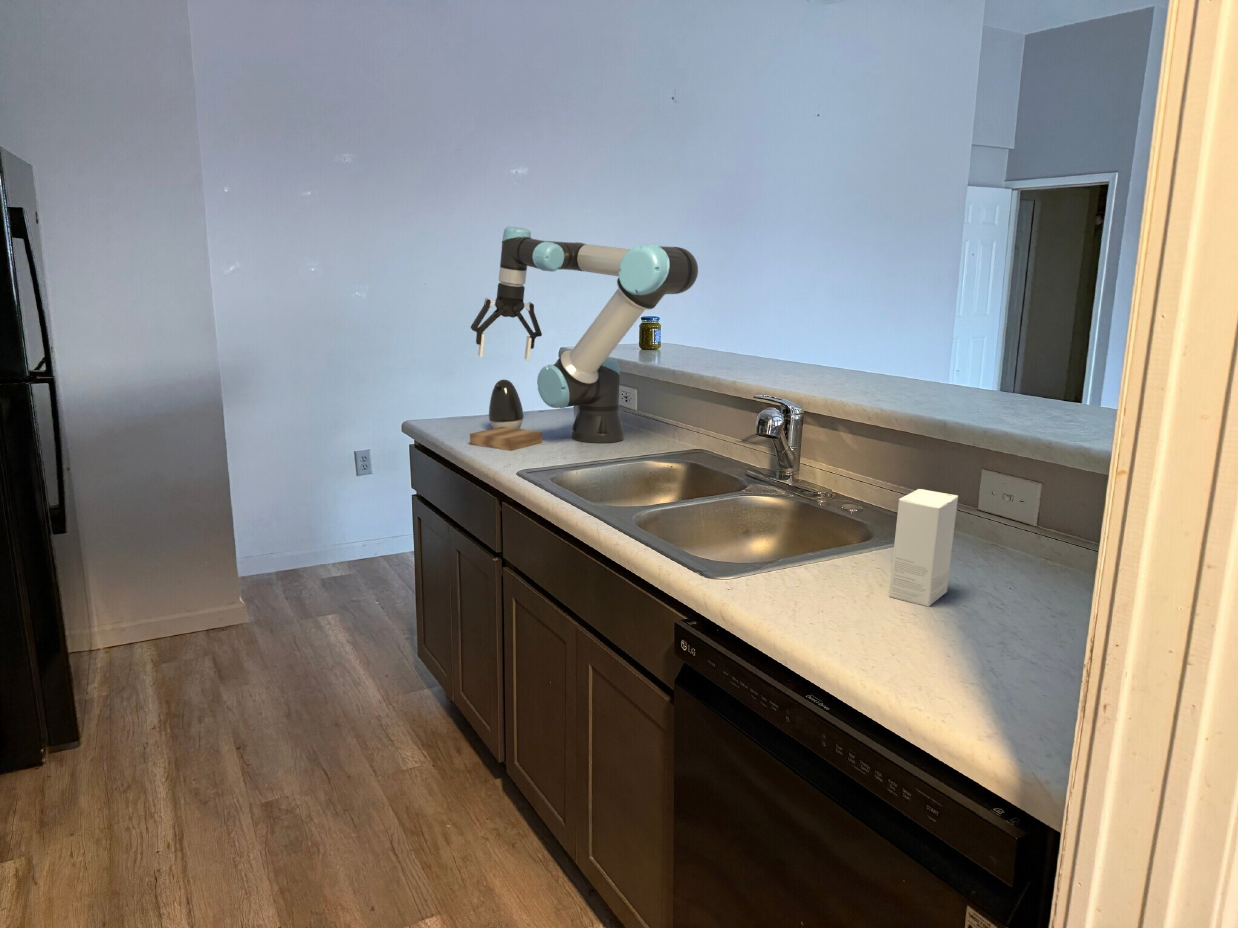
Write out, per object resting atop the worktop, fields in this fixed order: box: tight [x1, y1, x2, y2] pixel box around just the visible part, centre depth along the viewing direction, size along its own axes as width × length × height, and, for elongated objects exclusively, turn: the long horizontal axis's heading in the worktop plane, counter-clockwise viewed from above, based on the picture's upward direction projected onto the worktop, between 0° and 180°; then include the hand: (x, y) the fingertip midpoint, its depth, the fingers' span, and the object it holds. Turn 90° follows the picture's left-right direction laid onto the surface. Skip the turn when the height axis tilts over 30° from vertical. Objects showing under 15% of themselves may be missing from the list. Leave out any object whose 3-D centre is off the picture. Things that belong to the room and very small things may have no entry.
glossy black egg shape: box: [488, 378, 525, 429], centre depth 262 cm, size 10×10×15 cm
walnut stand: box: [469, 427, 543, 451], centre depth 245 cm, size 14×14×3 cm
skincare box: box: [888, 488, 959, 607], centre depth 134 cm, size 8×7×16 cm
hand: (503, 357), depth 257 cm, fingers open, 13 cm apart
